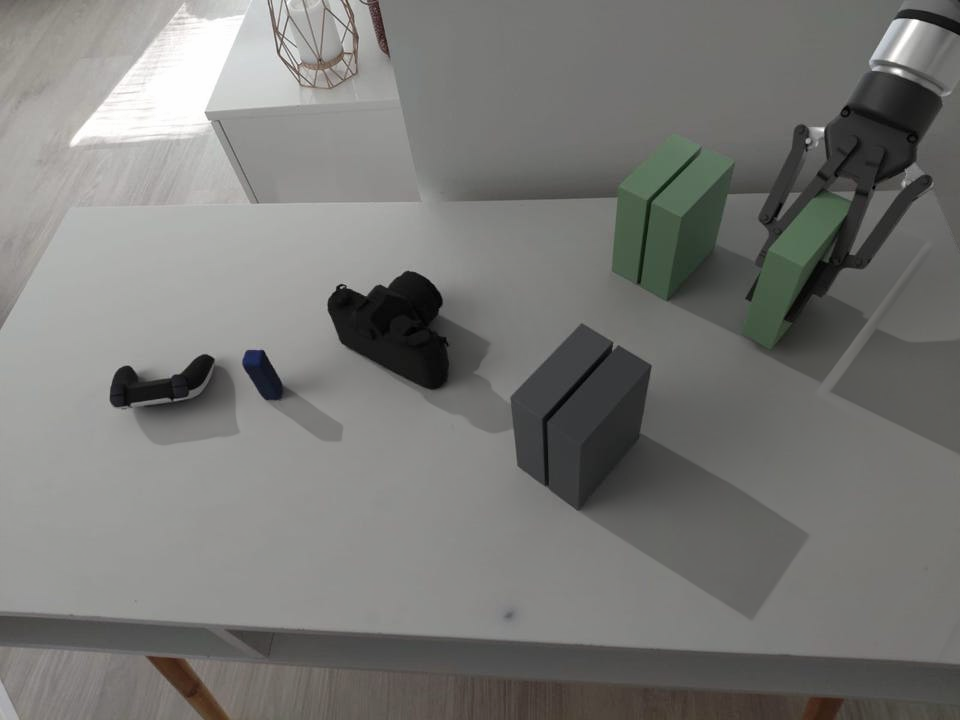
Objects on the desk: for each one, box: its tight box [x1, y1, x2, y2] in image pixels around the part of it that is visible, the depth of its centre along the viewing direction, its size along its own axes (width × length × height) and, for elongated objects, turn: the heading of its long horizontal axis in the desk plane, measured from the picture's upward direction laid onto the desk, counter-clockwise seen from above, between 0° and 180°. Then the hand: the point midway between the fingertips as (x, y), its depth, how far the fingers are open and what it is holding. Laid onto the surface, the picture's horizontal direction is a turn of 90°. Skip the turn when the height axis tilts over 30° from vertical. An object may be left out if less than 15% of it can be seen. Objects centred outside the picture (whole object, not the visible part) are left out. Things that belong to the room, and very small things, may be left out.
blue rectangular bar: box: [241, 349, 284, 401], centre depth 80 cm, size 2×2×7 cm
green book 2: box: [640, 148, 736, 301], centre depth 82 cm, size 4×10×13 cm, turn 139°
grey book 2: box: [547, 345, 653, 511], centre depth 69 cm, size 4×10×13 cm, turn 138°
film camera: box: [326, 270, 450, 390], centre depth 81 cm, size 15×10×9 cm, turn 56°
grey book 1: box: [509, 322, 614, 487], centre depth 71 cm, size 4×10×13 cm, turn 138°
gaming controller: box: [109, 353, 216, 410], centre depth 82 cm, size 11×4×7 cm
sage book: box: [740, 189, 852, 351], centre depth 76 cm, size 4×10×13 cm, turn 138°
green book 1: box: [611, 133, 703, 285], centre depth 84 cm, size 4×10×13 cm, turn 139°
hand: (770, 310), depth 76 cm, fingers closed on sage book, 3 cm apart
